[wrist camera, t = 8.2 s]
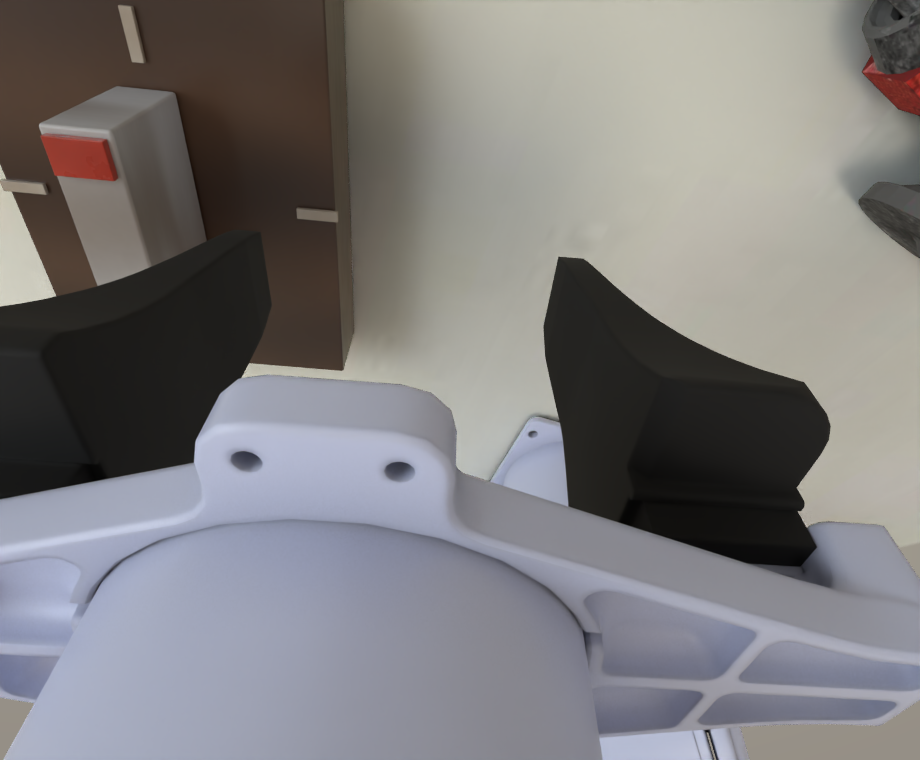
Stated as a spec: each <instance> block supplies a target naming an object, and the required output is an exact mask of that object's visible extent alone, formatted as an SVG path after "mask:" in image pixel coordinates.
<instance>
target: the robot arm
mask: <svg viewBox="0 0 920 760" xmlns="http://www.w3.org/2000/svg"><path fill="white" fill-rule="evenodd" d="M271 307H272V302H271V295H270V289H269V282H268V276H267V269H266V263H265V256H264V250H263V243H262V237H261V232H258V231H246V230H232V231H229V232H226V233H223V234H221V235H219V236H216V237H214V238H212V239H210V240H208V241H206V242H204V243H202V244H200V245H197V246H195V247H193V248H191V249H189V250H187V251H185V252H183V253H181V254H179V255H177V256H174V257H172V258H170V259H168V260H165V261H163V262H161V263H158V264H156V265H154V266H151V267H149V268H147V269H144V270H142V271H140V272H137V273H135V274H132V275H129V276H126V277H124V278H121V279H118V280H115V281H112V282H109V283H105V284H102V285H99V286H96V287H92V288H89V289H85V290H81V291H77V292H73V293H68V294H64V295H60V296H56V297H52V298H48V299H43V300H38V301H32V302H27V303H21V304H15V305H8V306H2V307H0V698H6V699H12V700H18V701H24V702H30V703H34V705H33V707H32V709H31V711H30V712H29V714H28V716H27V718H26V720H25V721H24V723H23V725H22V727H21V729H20V730H19V732H18V734H17V736H16V738H15V739H14V741H13V743H12V745H11V747H10V748H9V750H8V752H7V754H6V756H5V757H4V759H3V760H714V758H713V754H712V751H711V747H710V744H709V740H708V737H707V732H708V733H709V736H710V739H711V743H712V746H713V750H714V753H715V756H716V760H750V759H749V756H748V752H747V748H746V745H745V742H744V738H743V735H742V731H741V728H740V727H750V726H766V725H791V724H793V725H795V724H796V725H798V724H844V725H875V726H879V725H882V724H884V723H885V722H887V721H889V720H890V719H892V718H893V717H895V716H896V715H898V714H899V713H901V712H902V711H904V710H905V709H907V708H908V707H910V706H911V705H913V704H915V703H916V702H917V701H919V700H920V579H919V577H918V576H917V574H916V573H915V571H914V570H913V568H912V567H911V565H910V564H909V562H908V561H907V559H906V558H905V557H904V555H903V553H902V552H901V550H900V549H899V548H898V546H897V545H896V543H895V542H894V540H893V539H892V537H891V536H890V534H889V533H888V531H887V530H886V528H885V527H884V526H881V525H876V524H860V523H845V522H830V521H828V522H819V523H816V524H813V525H810V526H809V527H807V528H806V526H805V524H804V522H803V521H802V519H801V517H800V515H799V513H798V511H801V510H802V509H803V508H804V500H803V498H802V497H801V495H800V493H799V491H798V490H797V486H798V485H799V484H800V482H801V481H802V479H803V478H804V477H805V475H806V474H807V473H808V471H809V470H810V468H811V467H812V466H813V464H814V463H815V462H816V460H817V459H818V457H819V456H820V455H821V453H822V451H823V450H824V448H825V446H826V444H827V442H828V440H829V434H830V427H831V426H830V423H829V420H828V416H827V414H826V412H825V411H824V409H823V408H822V407H821V405H820V404H819V402H818V401H817V400H816V398H815V397H814V395H813V394H812V392H811V391H810V390H809V388H808V387H807V385H806V384H805V383H804V382H801V381H798V380H794V379H791V378H788V377H784V376H781V375H777V374H774V373H771V372H767V371H764V370H761V369H758V368H755V367H752V366H749V365H747V364H744V363H742V362H739V361H736V360H734V359H731V358H729V357H726V356H724V355H722V354H719V353H717V352H715V351H712V350H710V349H708V348H706V347H704V346H702V345H700V344H698V343H696V342H694V341H692V340H690V339H688V338H687V337H685V336H683V335H681V334H679V333H678V332H676V331H675V330H673V329H671V328H670V327H668V326H666V325H665V324H663V323H661V322H660V321H659V320H657V319H656V318H654V317H653V316H651V315H650V314H649V313H647V312H646V311H645V310H643V309H642V308H641V307H639V306H638V305H637V304H635V303H634V302H633V301H632V300H630V299H629V298H628V297H627V296H626V295H624V294H623V293H622V292H621V291H620V290H619V289H618V288H616V287H615V286H614V285H613V284H612V283H611V282H610V281H609V280H607V279H606V278H605V277H604V276H603V275H602V274H601V273H600V272H599V271H598V270H597V269H595V268H594V267H593V266H592V265H591V264H590V263H588V262H587V261H586V260H584V259H579V258H567V257H558V262H557V266H556V271H555V276H554V280H553V285H552V290H551V294H550V299H549V304H548V308H547V313H546V317H545V322H544V344H545V357H546V362H547V367H548V372H549V377H550V381H551V386H552V390H553V395H554V399H555V403H556V408H557V412H558V417H559V421H560V423H559V422H556V421H552V420H549V419H545V418H542V417H533V418H531V419H529V420H528V421H527V423H526V425H525V426H524V428H523V429H522V431H521V433H520V434H519V436H518V437H517V439H516V441H515V442H514V444H513V445H512V447H511V449H510V450H509V452H508V453H507V455H506V456H505V458H504V460H503V461H502V463H501V464H500V466H499V468H498V469H497V471H496V472H495V474H494V476H493V477H492V479H491V480H490V481H487V480H483V479H480V478H477V477H474V476H471V475H468V474H465V473H463V472H461V471H460V470H458V468H457V466H456V435H457V431H456V427H455V423H454V419H453V415H452V412H451V410H450V409H449V408H448V407H447V406H446V405H445V404H443V403H442V402H441V401H440V400H439V399H438V398H437V397H435V396H434V395H433V394H432V393H430V392H427V391H423V390H420V389H416V388H412V387H409V386H405V385H402V384H389V383H375V382H362V381H348V380H334V379H321V378H307V377H294V376H280V375H261V376H254V377H247V378H241V377H242V375H243V373H244V371H245V370H246V368H247V366H248V364H249V362H250V360H251V358H252V356H253V354H254V352H255V350H256V348H257V346H258V344H259V342H260V340H261V338H262V336H263V333H264V330H265V327H266V324H267V320H268V317H269V314H270V310H271ZM531 431H536V432H533V433H530V432H531Z"/></svg>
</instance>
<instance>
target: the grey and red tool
mask: <svg viewBox="0 0 920 760" xmlns="http://www.w3.org/2000/svg"><path fill="white" fill-rule="evenodd" d="M862 30H863V33H864V36H865V38H866V41H867V43H868V46H869V49H870V51H871V54H872V55H871V57H870V59H869V60H868V62H867V64H866V66H865V67H864V69H863V71H862V73H863V74H864V75H865V76H866V77H867V78H868V79H869V80H870V81H871V82H872V83H873V84H874V85H875V86H876V87H877V88H878V89H879V90H880V91H881V92H882V93H883V94H884V95H885V96H886V97H887V98H888V99H889V100H890V101H891V102H892V103H893V104H894V105H895V106H896V107H897V108H898V109H899V110H902V111H906V112H909V113H913V114H916V115H919V116H920V0H874V2H873V4H872V5H871V7H870V9H869V10H868V12H867V14H866V16H865V20H864V23H863V27H862ZM859 205H860V207H861V208H862V210H863V211H864V212H865V214H866V215H867V216H868V217H869V218H870V219H871V220H872V221H873V222H874V223H875V224H876V225H877V226H878V227H879V228H881V229H882V230H883V231H884V232H885V233H886V234H888V235H889V236H890V237H891V238H893V239H894V240H895V241H896V242H898V243H899V244H900V245H902V246H903V247H904V248H906V249H907V250H908V251H910V252H911V253H913V254H914V255H916V256H917V257H918V258H920V185H904V186H900V185H896V184H892V183H888V182H878V183H876V184H874V185H873V186H872V187H871V188H870V189H869V190H868V191H867V192H866V193H865V194H864V195H863V196H862V197H861V198H860V199H859Z"/></svg>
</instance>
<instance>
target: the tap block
mask: <svg viewBox="0 0 920 760" xmlns="http://www.w3.org/2000/svg"><path fill="white" fill-rule="evenodd" d="M116 86H120V87H129V88H139V89H149V90H158V91H168V92H173V93H175V94H176V98H177V103H178V108H179V112H180V117H181V122H182V127H183V131H184V136H185V141H186V145H187V150H188V155H189V159H190V164H191V169H192V174H193V178H194V183H195V188H196V192H197V197H198V202H199V206H200V211H201V216H202V221H203V225H204V230H205V235H206V239H207V241H208V240H210V239H212V238H214V237H216V236H219V235H221V234H223V233H226V232H229V231H232V230H246V231H258V232H261V237H262V243H263V250H264V256H265V263H266V269H267V276H268V282H269V289H270V295H271V302H272V307H271V310H270V314H269V317H268V320H267V324H266V327H265V330H264V333H263V336H262V338H261V340H260V342H259V344H258V346H257V348H256V350H255V352H254V354H253V356H252V358H251V360H250V362H249V363H255V364H267V365H279V366H291V367H303V368H315V369H328V370H340V371H342V370H343V369H344V366H345V362H346V359H347V355H348V352H349V348H350V344H351V341H352V337H353V334H354V306H353V276H352V245H351V214H350V184H349V153H348V123H347V92H346V61H345V31H344V0H0V165H1V167H2V170H3V172H4V174H5V177H6V179H1V180H0V183H1V185H2V188H3V190H4V191H11V192H12V193H13V195H14V198H15V200H16V202H17V205H18V207H19V209H20V212H21V214H22V216H23V219H24V221H25V223H26V226H27V228H28V230H29V233H30V235H31V238H32V240H33V242H34V245H35V247H36V249H37V252H38V254H39V256H40V259H41V261H42V263H43V266H44V268H45V270H46V273H47V275H48V277H49V280H50V282H51V284H52V287H53V289H54V291H55V294H56V296H60V295H64V294H68V293H73V292H77V291H81V290H85V289H89V288H92V287H96V286H98V285H97V283H96V280H95V277H94V275H93V272H92V269H91V267H90V264H89V261H88V258H87V256H86V253H85V250H84V248H83V245H82V242H81V239H80V237H79V234H78V231H77V229H76V226H75V223H74V220H73V218H72V215H71V212H70V210H69V207H68V204H67V201H66V199H65V196H64V193H63V191H62V188H61V185H60V182H59V180H58V177H57V176H55V174H54V172H53V169H52V166H51V164H50V161H49V158H48V155H47V153H46V150H45V147H44V145H43V142H42V139H41V137H40V136H41V135H42V134H41V131H40V128H39V124H40V123H42V122H44V121H46V120H48V119H50V118H52V117H54V116H56V115H58V114H60V113H62V112H64V111H67V110H69V109H71V108H73V107H75V106H77V105H79V104H81V103H83V102H85V101H87V100H89V99H91V98H93V97H95V96H97V95H100V94H102V93H104V92H106V91H108V90H110V89H112V88H114V87H116Z"/></svg>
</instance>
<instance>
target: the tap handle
mask: <svg viewBox="0 0 920 760" xmlns="http://www.w3.org/2000/svg"><path fill="white" fill-rule="evenodd" d="M39 128H40V131H41V134H42V135H41V136H40V137H41V139H42V142H43V145H44V147H45V150H46V153H47V155H48V158H49V161H50V164H51V166H52V169H53V172H54V174H55V176H57V177H58V180H59V182H60V185H61V188H62V191H63V193H64V196H65V199H66V201H67V204H68V207H69V210H70V212H71V215H72V218H73V220H74V223H75V226H76V229H77V231H78V234H79V237H80V239H81V242H82V245H83V248H84V250H85V253H86V256H87V258H88V261H89V264H90V267H91V269H92V272H93V275H94V277H95V280H96V283H97V285H98V286H99V285H102V284H105V283H109V282H112V281H115V280H118V279H121V278H124V277H126V276H129V275H132V274H135V273H137V272H140V271H142V270H144V269H147V268H149V267H151V266H154V265H156V264H158V263H161V262H163V261H165V260H168V259H170V258H172V257H174V256H177V255H179V254H181V253H183V252H185V251H187V250H189V249H191V248H193V247H195V246H197V245H200V244H202V243H204V242H206V241H207V239H206V235H205V230H204V225H203V221H202V216H201V211H200V206H199V202H198V197H197V192H196V188H195V183H194V178H193V174H192V169H191V164H190V159H189V155H188V150H187V145H186V141H185V136H184V131H183V127H182V122H181V117H180V112H179V108H178V103H177V98H176V94H175V93H173V92H168V91H158V90H149V89H139V88H129V87H120V86H116V87H114V88H112V89H110V90H108V91H106V92H104V93H102V94H100V95H97V96H95V97H93V98H91V99H89V100H87V101H85V102H83V103H81V104H79V105H77V106H75V107H73V108H71V109H69V110H67V111H64V112H62V113H60V114H58V115H56V116H54V117H52V118H50V119H48V120H46V121H44V122H42V123H40V124H39Z"/></svg>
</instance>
